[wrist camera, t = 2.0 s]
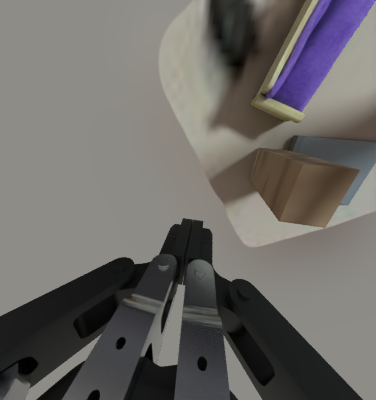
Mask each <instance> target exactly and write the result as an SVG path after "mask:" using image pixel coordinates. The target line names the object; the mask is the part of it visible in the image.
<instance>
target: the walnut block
mask: <svg viewBox="0 0 376 400" xmlns="http://www.w3.org/2000/svg"><path fill="white" fill-rule="evenodd" d="M359 171H360V170H358V169H355V168H351V167H347V166H344V165H340V164H336V163H333V162H329V161H325V160H322V159H318V158H314V157H311V156H307V155H303V154H300V153H296V152H292V151H289V150H280V149H269V148H259V150H258V154H257V157H256V161H255V165H254V168H253V172H252V176H251V179H250V182H251V183H252V185H253V186H254V187H255V189H256V190H257V192H258V193H259V194H260V196H261V197H262V198H263V200H264V201H265V203H266V204H267V205H268V207H269V208H270V209H271V211H272V212H273V214H274V215H275V216H276V218H277V219H278V221H281V222H288V223H295V224H302V225H309V226H316V227H324V228H325V227H326V226H327V224H328V222H329V221H330V219H331V217H332V216H333V214H334V213H335V211H336V209H337V208H338V206H339V204H340V203H341V201H342V199H343V198H344V196H345V194H346V193H347V191H348V189H349V188H350V186H351V185H352V183H353V181H354V180H355V178H356V176H357V175H358V173H359Z"/></svg>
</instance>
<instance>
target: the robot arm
mask: <svg viewBox="0 0 376 400" xmlns="http://www.w3.org/2000/svg"><path fill="white" fill-rule="evenodd" d="M192 224H193V225H192ZM183 277H184V280H183ZM182 282H183V285H185V293H184V303H183V313H182V323H181V334H180V344H179V354H178V364H177V365H172V366H164V367H160V366H158V365H157V361H158V357H159V354H160V350H161V344H162V339H163V336H164V332H165V329H166V325H167V322H168V319H169V315H170V312H171V309H172V305H173V302H174V299H175V294H176V291H177V287H178V284H182ZM101 334H102V335H101ZM99 335H101V336H100V338H99V340H98V341H97V343H96V344H95V346H94V348H93V349H92V351H91V353H90V354H89V356H88V358H87V359H86V360H85V361H83V362H82V363H80V364H79V365H78V366H76V367H75V368H74V369H72V370H71V371H70V372H68V373H67V374H66V375H65V376H64V377H62V378H61V379H60V380H59V381H58V382H57V383H55V384H54V385H53V386H52V387H51V388H49V389H48V390H47V391H46V392H45V393H44V394H43V395H41V396H40V397H39V398H38V399H37V400H238V399H237V398H236V397H235V395H234V394H233V393H232V392H231V391H230V390H229V382H228V373H227V364H226V355H225V346H224V337H223V335H224V336H225V338H226V340H227V341H228V343H229V344H230V346H231V348H232V350H233V351H234V353H235V354H236V356H237V358H238V360H239V361H240V363H241V365H242V366H243V368H244V370H245V371H246V373H247V375H248V376H249V378H250V379H251V381H252V383H253V385H254V386H255V388H256V390H257V391H258V393H259V395H260V396H261V398H262V400H363V399H362V398H361V397H360V396H359V395H358V394H357V393H356V392H355V391H354V390H353V389H352V388H351V387H350V386H349V385H348V384H347V383H346V382H345V381H344V380H343V378H342V377H341V376H340V375H339V374H338V373H337V372H336V371H335V370H334V369H333V368H332V367H331V366H330V365H329V364H328V363H327V362H326V361H325V360H324V359H323V358H322V357H321V355H320V354H319V353H318V352H317V351H316V350H315V349H314V348H313V347H312V346H311V345H310V344H309V343H308V342H307V341H306V340H305V339H304V338H303V337H302V336H301V335H300V334H299V333H298V332H297V331H296V329H295V328H294V327H293V326H292V325H291V324H290V323H289V322H288V321H287V320H286V319H285V318H284V317H283V316H282V315H281V314H280V313H279V312H278V311H277V310H276V308H275V307H274V306H273V305H272V304H271V303H270V302H269V301H268V300H267V299H266V298H265V297H264V296H263V295H262V294H261V293H260V292H259V291H258V290H257V289H256V288H255V287H254V286H253V285H252V284H251V283H250V282H248V281H246V280H243V279H235V280H233V281H232V282H230V281H228V280H227V279H225V278H222V277H221V276H219V275H218V274H217V273H216V271H215V270H214V268H213V265H212V233H211V231H210V229H205V228H203V221H198V220H192V219H185V218H183V220H182V223H181V225H179V224H175V225H173V226H172V227H171V228H170V231H169V233H168V235H167V238H166V240H165V242H164V244H163V247H162V249H161V251H160V254H159V255H157V256H156V257H154V258H153V260H152V261H151V262H148V263H143V264H134V262H133V260H131V259H130V258H126V257H122V258H118V259H115V260H113V261H111V262H109V263H107V264H105V265H103V266H101V267H99V268H97V269H95V270H93V271H91V272H89V273H87V274H85V275H83V276H81V277H79V278H77V279H75V280H73V281H71V282H69V283H67V284H65V285H63V286H61V287H59V288H57V289H55V290H53V291H51V292H49V293H47V294H44V295H42V296H41V297H38V298H36V299H34V300H32V301H30V302H28V303H26V304H24V305H22V306H20V307H18V308H16V309H14V310H12V311H10V312H8V313H6V314H4V315H2V316H0V400H25V398H26V396H27V394H28V391H29V389H30V388H31V387H32V386H34V385H35V384H36V383H38V382H39V381H40V380H42V379H43V378H44V377H45V376H47V375H48V374H49V373H51V372H52V371H53V370H55V369H56V368H57V367H58V366H60V365H61V364H62V363H64V362H65V361H67V360H68V359H69V358H70V357H72V356H73V355H74V354H76V353H77V352H78V351H80V350H81V349H82V348H84V347H85V346H86V345H87V344H89V343H90V342H91V341H93V340H94V339H95V338H97V337H98V336H99Z"/></svg>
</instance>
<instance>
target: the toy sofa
mask: <svg viewBox="0 0 376 400" xmlns="http://www.w3.org/2000/svg"><path fill="white" fill-rule="evenodd" d="M375 1H376V0H306V1H305V2H304V4H303V6H302V8H301V10H300V12H299V14H298V16H297V18H296V20H295V22H294V24H293V26H292V28H291V30H290V31H289V33H288V35H287V37H286V39H285V41H284V43H283V45H282V47H281V49H280V51H279V53H278V55H277V57H276V59H275V60H274V62H273V64H272V66H271V68H270V70H269V72H268V74H267V76H266V78H265V80H264V81H263V83H262V85H261V87H260V89H259V91H258V93H257V95H256V96H255V98H254V99H252V101H251V103H250V105H252V106H254V107H256V108H258V109H260V110H262V111H264V112H266V113H268V114H271V115H273V116H275V117H277V118H279V119H282V120H284V121H290V120H291V121H293V122H295V123H299V122H301V121H302V120H303V118H304V116H305V114H304V113H302V111H303V109H304V108H305V106H306V105H307V103H308V102H309V100H310V99H311V97H312V96H313V94H314V93H315V91H316V90H317V89H318V87H319V86H320V84H321V83H322V81H323V80H324V78H325V77H326V75H327V73H328V72H329V70H330V69H331V67H332V65H333V63H334V62H335V60H336V59H337V57H338V56H339V54H340V53H341V51H342V50H343V48H344V47H345V46H346V44H347V42H348V41H349V39H350V38H351V37H352V35H353V33H354V32H355V31H356V29H357V28H358V27H359V25H360V23H361V22H362V20H363V19H364V17H365V16H366V15H367V13H368V11H369V10H370V8H371V7H372V5H373V4H374V2H375Z"/></svg>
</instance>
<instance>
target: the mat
mask: <svg viewBox="0 0 376 400" xmlns="http://www.w3.org/2000/svg"><path fill="white" fill-rule="evenodd" d="M289 151H292V152H296V153H300V154H303V155H307V156H311V157H314V158H318V159H322V160H325V161H329V162H333V163H336V164H340V165H344V166H347V167H351V168H355V169H358V170H360V171H359V173H358V175H357V176H356V178H355V180H354V181H353V183H352V185H351V186H350V188H349V189H348V191H347V193H346V194H345V196H344V198H343V199H342V201H341V203H340V204H342V205H349V203H350V202H351V200H352V198H353V197H354V195H355V194H356V192H357V191H358V189H359V187H360V186H361V184H362V183H363V181H364V180H365V178H366V177H367V175H368V173H369V172H370V170H371V169H372V167H373V166H374V164H375V162H376V142H369V141H356V140H344V139H331V138H319V137H306V136H294V137H293V140H292V143H291V145H290V148H289Z"/></svg>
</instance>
